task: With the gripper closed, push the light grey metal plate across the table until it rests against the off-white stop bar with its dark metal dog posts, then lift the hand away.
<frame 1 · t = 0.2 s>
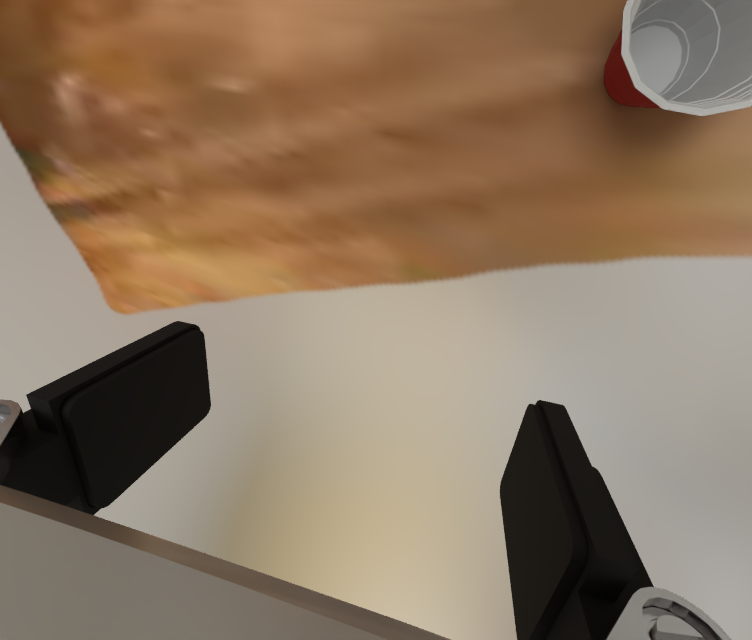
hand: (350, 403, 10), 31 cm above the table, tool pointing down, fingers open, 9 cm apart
plastic cup: (638, 66, 29), on the table
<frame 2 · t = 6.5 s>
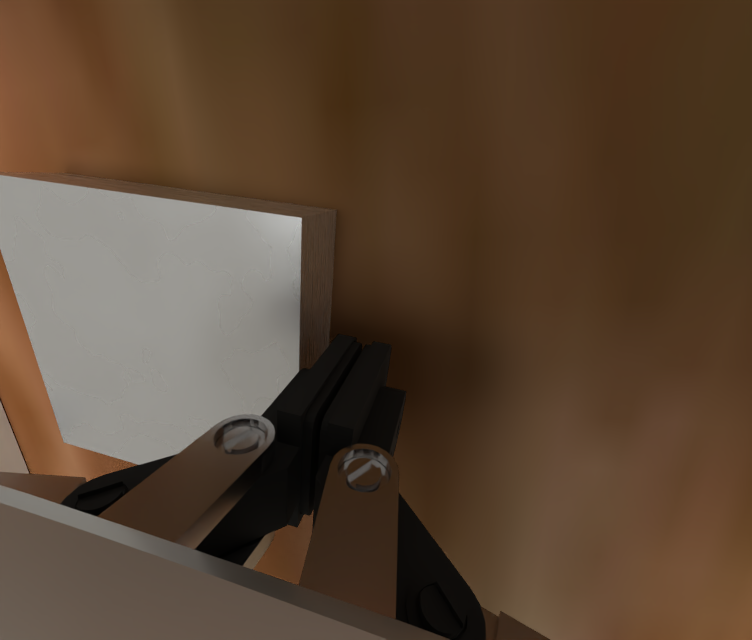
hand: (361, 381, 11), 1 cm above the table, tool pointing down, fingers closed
metal plate: (213, 323, 14), on the table, touching gripper
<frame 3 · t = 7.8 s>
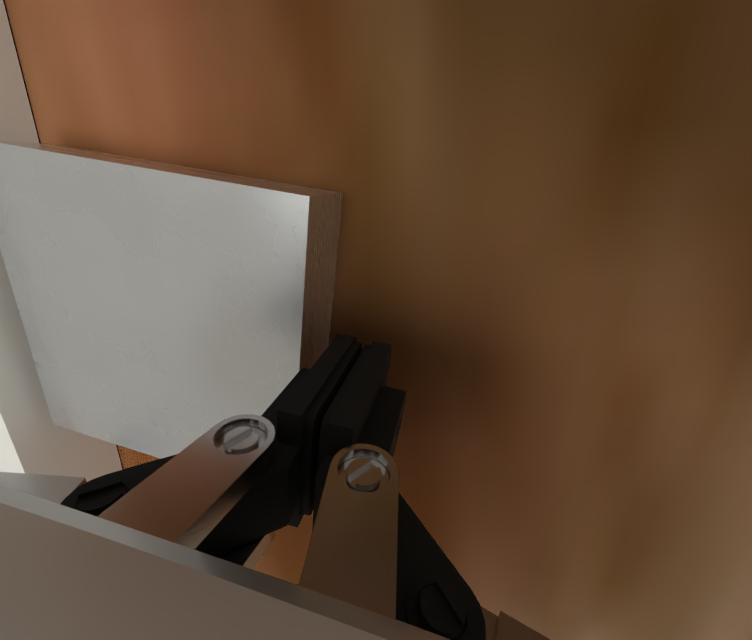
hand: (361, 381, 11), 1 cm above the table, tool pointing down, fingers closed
stop bar: (49, 294, 14), on the table
metal plate: (211, 307, 13), on the table, touching gripper
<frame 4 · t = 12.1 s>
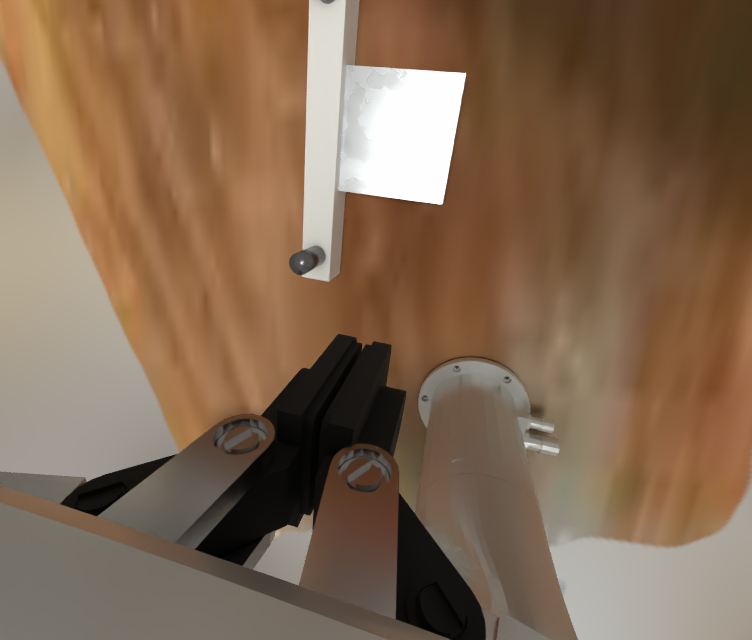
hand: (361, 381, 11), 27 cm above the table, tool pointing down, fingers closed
stop bar: (334, 143, 34), on the table
metal plate: (401, 140, 33), on the table
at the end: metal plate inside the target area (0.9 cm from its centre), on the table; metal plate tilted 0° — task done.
